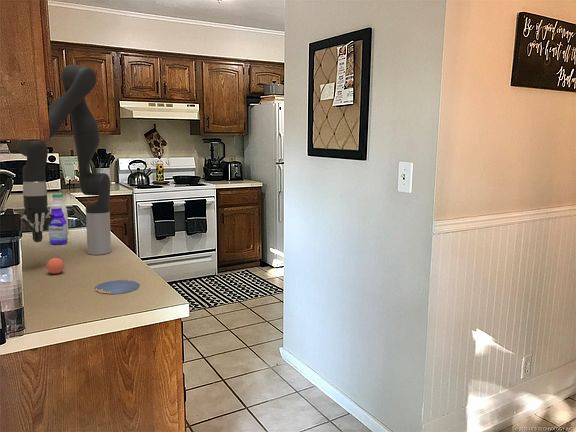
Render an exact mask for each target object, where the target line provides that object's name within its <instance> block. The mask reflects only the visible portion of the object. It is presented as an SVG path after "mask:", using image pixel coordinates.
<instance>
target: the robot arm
mask: <svg viewBox="0 0 576 432" xmlns="http://www.w3.org/2000/svg"><path fill="white" fill-rule="evenodd" d="M97 79H98V77H97V73H96V72H95V70H94V69H93V68H91V67H88V66H85V65H78V64H77V65H76V64H67V65H66V66H64V68H63V70H62V72H61V82H62V85H63V89H64V94H63V95H62V96H61V97H59V98H58V99H55V101H53V102H52V103H51V104H50V105H48V107H49V120H50V138H53V137H54V136H55V134H56V133H57V132H58V130H59V129H60V128H61V126H62V125H63V123H64V121H65V120H66V119H67V117H68V116H69V115H70V119H71V126H72V127H71V128H72V133H73V140H74V144H75V151H76V157H77V163H78V164H77V166H78V178H79V179H78V181H79V187H80V190H81V193H82V194H83V195H85V196H98V198H97V200H96V201H95V202H92V203H89V204H87V205H86V206H85V223H86V225H85V226H86V247H87V250H86V251H87V254H88V255H92V256H96V255H97V256H98V255H99V256H101V255H106V254H110V253H111V252H112V242H111V241H112V240H111V239H112V237H111V235H112V233H111V212H110V211H111V210H110V208H111V207H110V206H111V179H110V176H109V174H107V173H105V172H104V173H102V172H91V161H92V158H93V157H94V155H95V153H96V151H97V149H98V147H99V145H100V141H101V139H100V132H99V126H98V123H97V120H96V119H95V117H94V114H93V113H92V111H91V109H90V108H89V106H88V104H87V101H86V97H87V96H88V95H89V94H90V93H91V92H92V91H93V89H95V87H96V84H97V83H98V82H97V81H98V80H97ZM50 138H49V139H50ZM17 149H18V151H19V152H18V153H20V154H21V155H22V156H23V157H26V164H25V165H23V167H22V194H23V195H22V196H23V197H22V198H23V207H24V211H23V215H22V216H21V217H20V218H21V220H22V224H21V225H22V227H23V228H24V229H25V230H27V231H29V232H31V235H32V241H34V243H40V242H42V241H43V231H44V230H47V229H49V224H50V223H51V221H52V220H53V218H54V215H52V214H50V211H49V209H48V188H47V182H46V178H47V177H46V166H47V160H48V154H49V153H48V149H49V148H48V146H47V143H46V141H20V140H19V142H18V144H17Z"/></svg>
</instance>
